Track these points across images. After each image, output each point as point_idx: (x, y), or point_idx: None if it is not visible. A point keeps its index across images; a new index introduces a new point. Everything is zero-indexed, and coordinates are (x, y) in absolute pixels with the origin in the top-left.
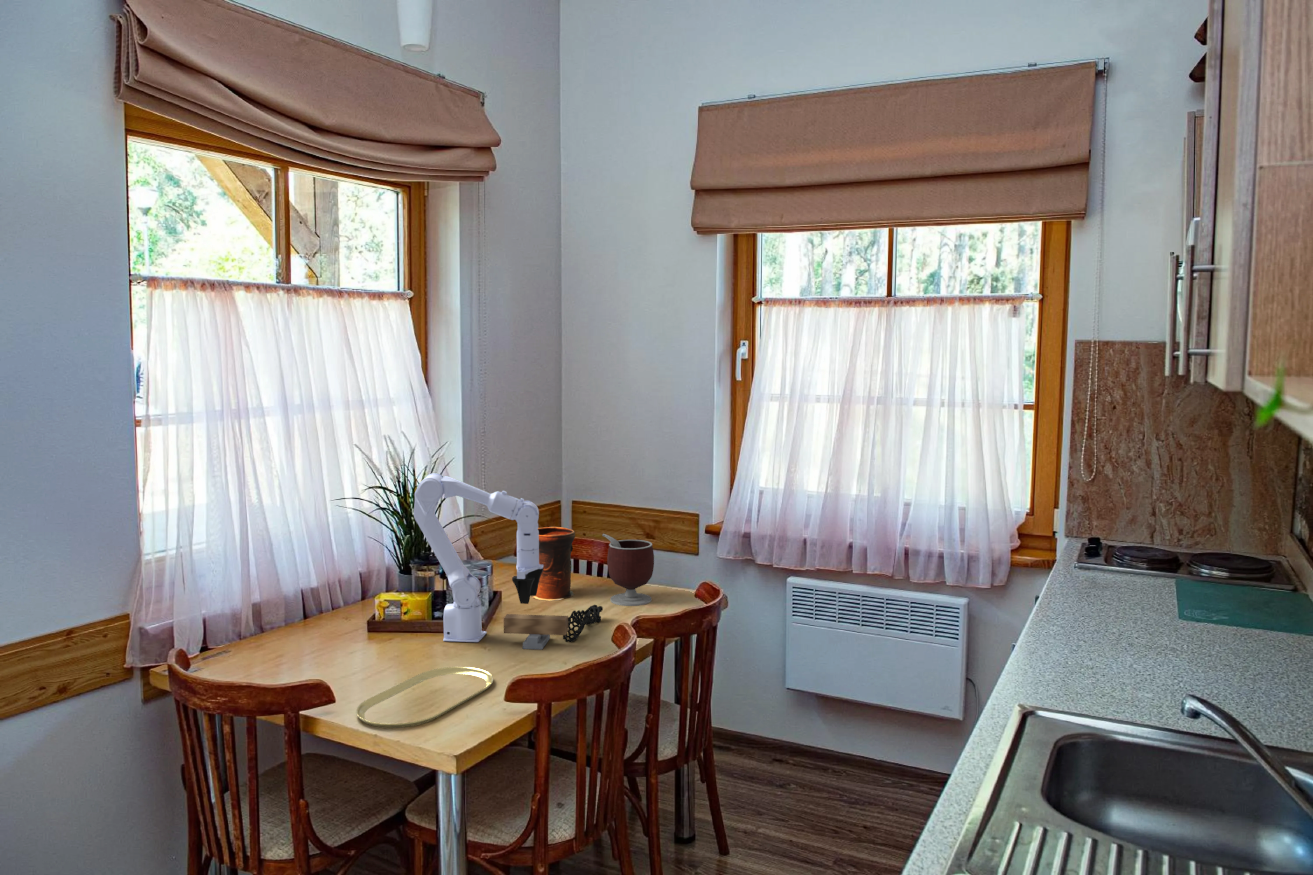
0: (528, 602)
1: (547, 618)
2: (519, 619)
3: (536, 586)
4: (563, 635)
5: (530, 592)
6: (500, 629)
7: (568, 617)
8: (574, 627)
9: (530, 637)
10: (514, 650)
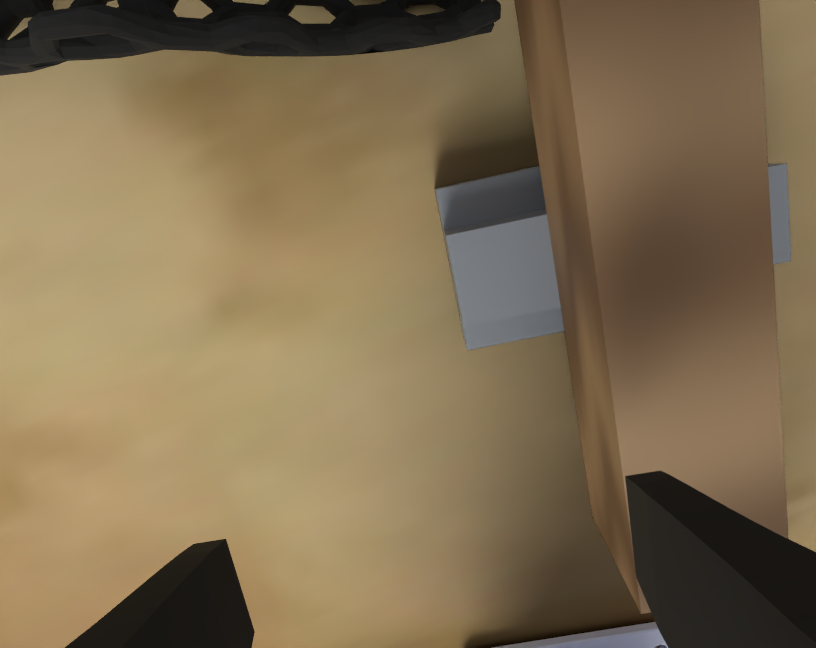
0: (668, 474)
1: (722, 99)
2: (775, 425)
3: (147, 639)
4: (495, 15)
5: (720, 555)
6: (351, 607)
7: (257, 28)
8: (245, 4)
9: (786, 231)
10: (780, 326)
